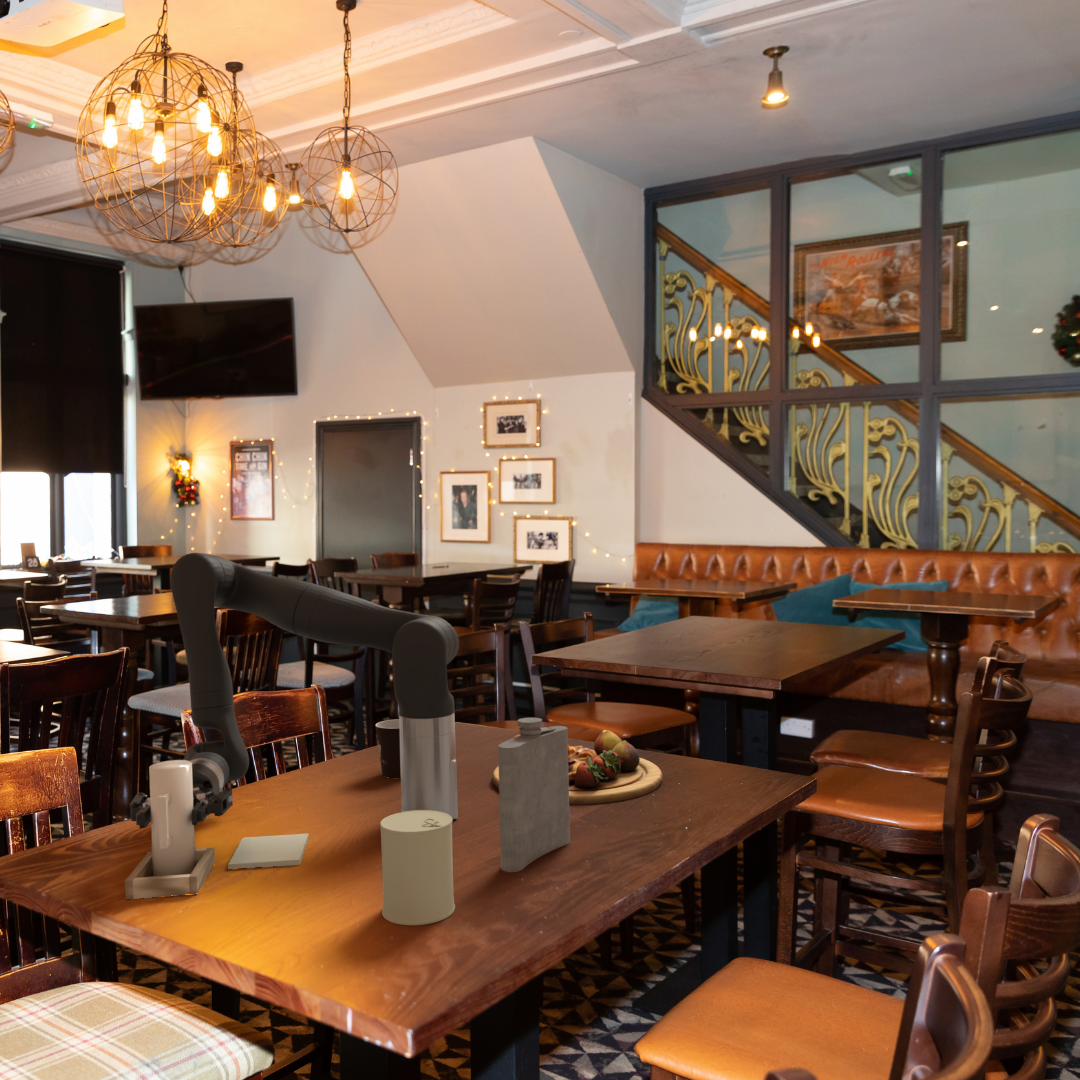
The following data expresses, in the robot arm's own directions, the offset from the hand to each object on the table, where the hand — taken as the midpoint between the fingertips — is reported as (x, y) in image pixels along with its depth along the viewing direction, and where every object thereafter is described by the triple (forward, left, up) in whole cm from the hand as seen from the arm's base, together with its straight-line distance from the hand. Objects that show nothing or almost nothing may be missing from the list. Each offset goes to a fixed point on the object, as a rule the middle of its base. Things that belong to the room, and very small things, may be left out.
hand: (168, 819), depth 135 cm
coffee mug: (-31, -54, -9) cm, 63 cm away
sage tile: (-12, -10, -9) cm, 18 cm away
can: (-34, +16, -9) cm, 39 cm away
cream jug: (0, -1, -9) cm, 9 cm away
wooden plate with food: (-64, -42, -10) cm, 77 cm away
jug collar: (0, -1, -9) cm, 9 cm away
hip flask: (-51, -2, -9) cm, 52 cm away
